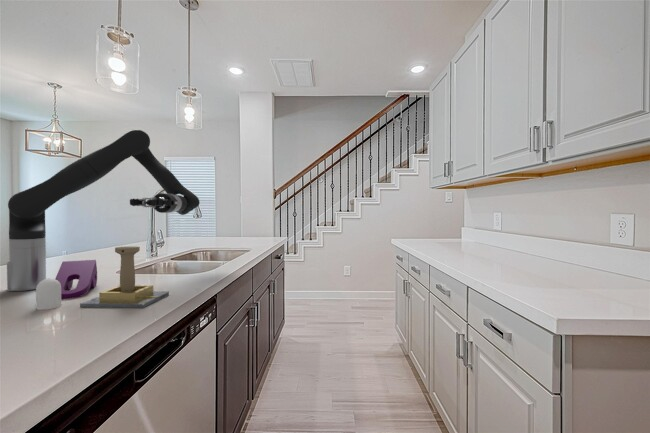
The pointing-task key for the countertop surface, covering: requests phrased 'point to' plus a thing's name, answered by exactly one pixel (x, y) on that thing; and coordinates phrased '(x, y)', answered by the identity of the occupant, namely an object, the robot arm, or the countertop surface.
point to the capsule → (48, 294)
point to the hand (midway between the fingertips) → (143, 202)
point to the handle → (127, 268)
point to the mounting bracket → (77, 277)
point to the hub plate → (126, 298)
